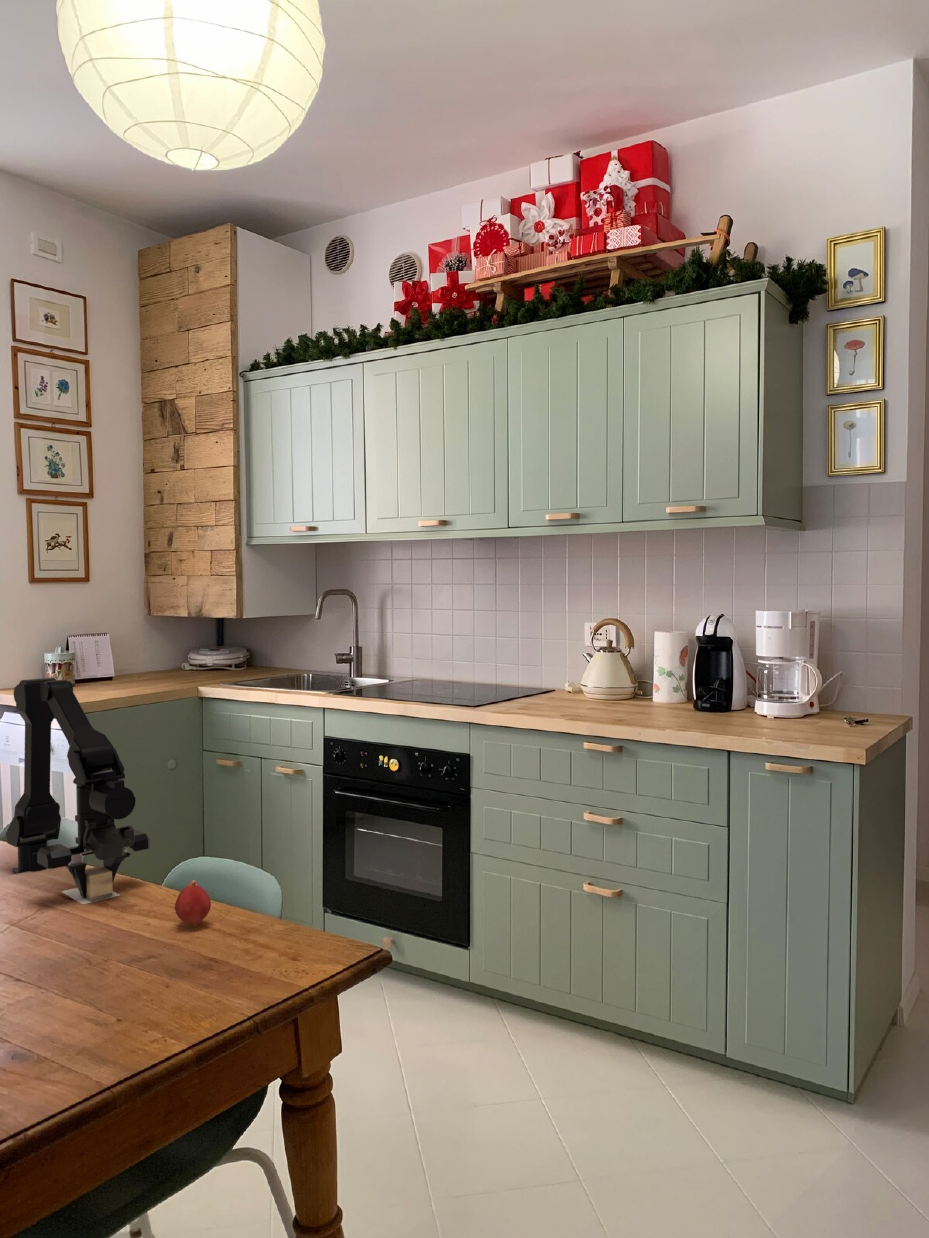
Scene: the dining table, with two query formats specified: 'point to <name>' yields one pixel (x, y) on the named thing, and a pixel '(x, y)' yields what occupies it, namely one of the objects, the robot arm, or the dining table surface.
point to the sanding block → (98, 883)
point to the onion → (192, 904)
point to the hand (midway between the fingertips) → (95, 894)
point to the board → (76, 896)
